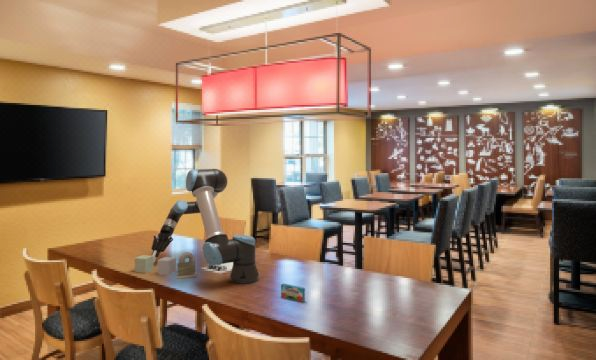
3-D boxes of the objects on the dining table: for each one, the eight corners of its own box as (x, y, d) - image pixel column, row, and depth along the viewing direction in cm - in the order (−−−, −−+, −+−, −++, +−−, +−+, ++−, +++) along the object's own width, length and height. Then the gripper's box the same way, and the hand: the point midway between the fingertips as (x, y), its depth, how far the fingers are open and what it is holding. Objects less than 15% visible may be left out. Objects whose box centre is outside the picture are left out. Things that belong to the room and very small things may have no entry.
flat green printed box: (304, 301, 183) (304, 287, 183) (302, 302, 182) (302, 288, 182) (282, 296, 190) (282, 283, 189) (281, 297, 188) (280, 284, 188)
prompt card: (196, 276, 220) (196, 262, 219) (177, 278, 216) (176, 264, 216) (195, 274, 223) (195, 260, 223) (176, 276, 220) (176, 262, 220)
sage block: (153, 269, 234) (153, 256, 233) (145, 273, 227) (145, 259, 227) (143, 268, 236) (142, 255, 235) (135, 272, 229) (134, 258, 229)
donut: (180, 271, 229) (180, 254, 229) (177, 270, 232) (177, 253, 231) (196, 268, 236) (196, 251, 236) (193, 267, 239) (193, 250, 238)
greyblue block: (176, 271, 229) (176, 257, 229) (168, 275, 223) (168, 261, 222) (165, 270, 231) (165, 257, 231) (157, 274, 225) (157, 260, 224)
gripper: (180, 231, 254) (164, 265, 239) (162, 230, 257) (145, 263, 243) (175, 224, 248) (158, 258, 233) (156, 223, 252) (139, 257, 237)
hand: (151, 261), depth 238 cm, fingers closed
